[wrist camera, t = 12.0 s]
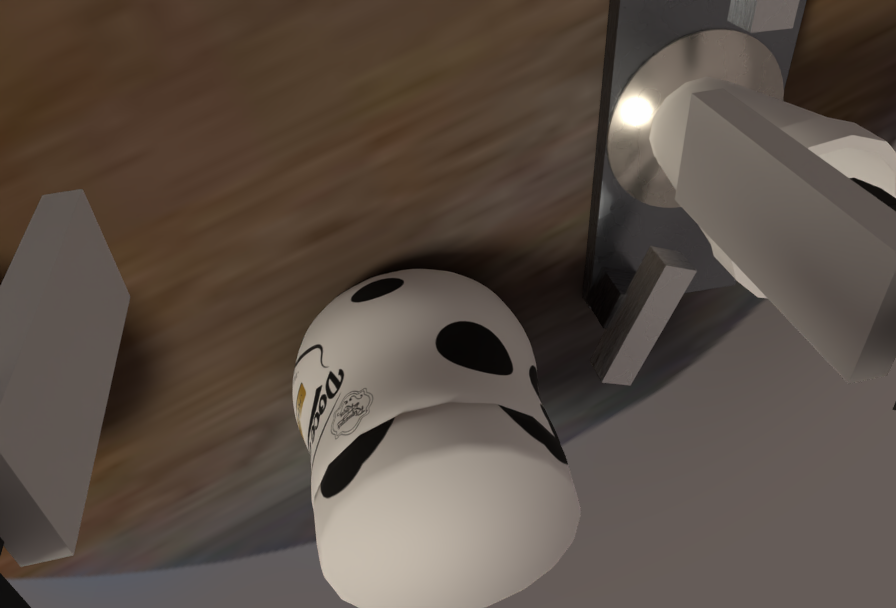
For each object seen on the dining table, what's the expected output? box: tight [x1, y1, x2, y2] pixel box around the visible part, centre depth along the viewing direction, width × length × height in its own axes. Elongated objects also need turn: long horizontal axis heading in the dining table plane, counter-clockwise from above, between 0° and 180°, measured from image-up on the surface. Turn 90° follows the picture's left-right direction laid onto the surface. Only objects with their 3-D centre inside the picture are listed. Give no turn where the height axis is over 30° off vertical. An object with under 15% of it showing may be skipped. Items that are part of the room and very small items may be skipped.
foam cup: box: [649, 76, 896, 298], centre depth 41 cm, size 10×9×13 cm
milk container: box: [293, 268, 581, 608], centre depth 47 cm, size 17×17×18 cm
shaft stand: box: [583, 0, 807, 385], centre depth 44 cm, size 34×13×7 cm, turn 2°
